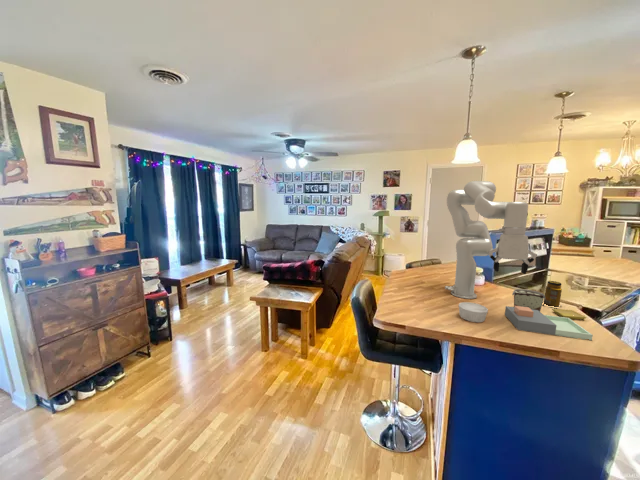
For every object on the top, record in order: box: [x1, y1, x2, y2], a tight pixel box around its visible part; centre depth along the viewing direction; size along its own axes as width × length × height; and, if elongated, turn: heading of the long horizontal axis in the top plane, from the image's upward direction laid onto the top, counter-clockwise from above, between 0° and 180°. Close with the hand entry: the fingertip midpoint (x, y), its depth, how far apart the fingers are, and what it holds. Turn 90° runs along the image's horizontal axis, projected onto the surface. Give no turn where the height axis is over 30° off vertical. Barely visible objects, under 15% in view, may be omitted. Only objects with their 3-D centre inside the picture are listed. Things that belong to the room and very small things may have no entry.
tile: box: [513, 306, 534, 317], centre depth 110 cm, size 5×5×2 cm
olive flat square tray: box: [551, 308, 587, 320], centre depth 120 cm, size 9×9×2 cm
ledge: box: [504, 305, 556, 336], centre depth 110 cm, size 12×16×4 cm
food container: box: [511, 288, 545, 312], centre depth 124 cm, size 12×6×10 cm, turn 71°
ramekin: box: [458, 301, 489, 323], centre depth 115 cm, size 11×11×5 cm
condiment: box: [543, 280, 563, 307], centre depth 132 cm, size 7×8×12 cm
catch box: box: [544, 314, 593, 341], centre depth 107 cm, size 11×16×2 cm
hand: (509, 272), depth 112 cm, fingers open, 9 cm apart
